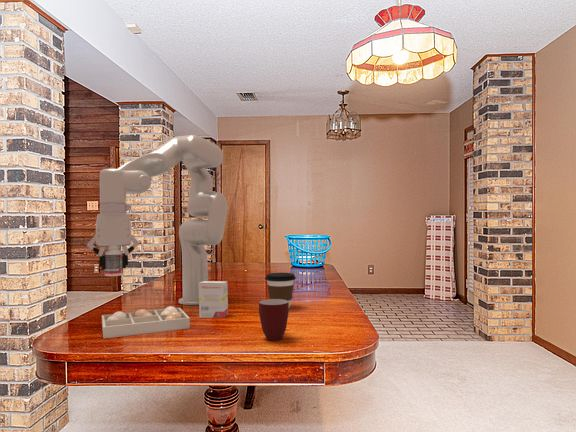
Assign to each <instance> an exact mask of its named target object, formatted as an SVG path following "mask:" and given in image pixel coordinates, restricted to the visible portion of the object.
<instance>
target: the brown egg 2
mask: <svg viewBox="0 0 576 432" xmlns="http://www.w3.org/2000/svg"><path fill="white" fill-rule="evenodd" d="M180 318H182V316H181V314H180V313H179V312H177V311H172V312H170V313H169V314H168V316H167V317H166V318H165V319H164V320H171V319H180Z"/></svg>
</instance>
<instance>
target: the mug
mask: <svg viewBox="0 0 576 432" xmlns="http://www.w3.org/2000/svg"><path fill="white" fill-rule="evenodd" d="M289 311H290V307H289V303H288V301H287V300H283V299H268V298H267V299H263V300H262V299H261V300H260V301H258V313H259V321H260V326H261V331H262V333H263V335H264V337H265V339H266V340H268V341H272V342H277V341H280V340H281V339H283V336H284V334H285V332H286V330H287V325H288V318H289Z"/></svg>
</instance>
